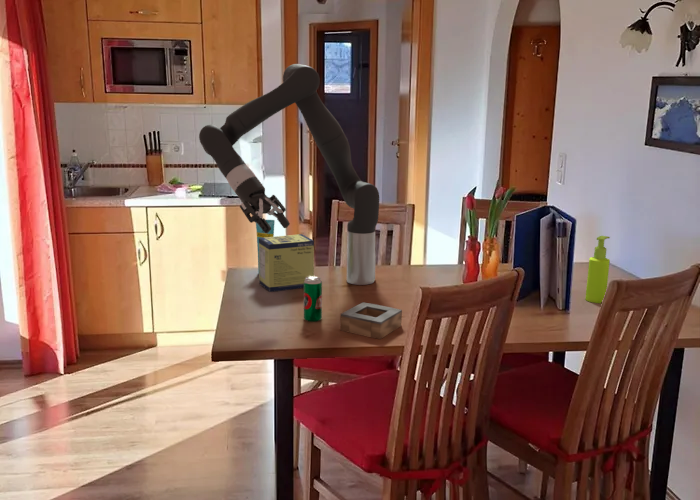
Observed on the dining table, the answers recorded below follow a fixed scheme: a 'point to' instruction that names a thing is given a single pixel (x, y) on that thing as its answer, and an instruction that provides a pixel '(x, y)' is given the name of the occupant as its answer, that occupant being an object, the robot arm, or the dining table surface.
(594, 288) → the soap dispenser
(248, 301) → the dining table surface
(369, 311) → the square holder
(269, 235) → the tube
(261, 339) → the dining table surface
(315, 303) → the soda can
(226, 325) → the dining table surface
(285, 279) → the protein box
